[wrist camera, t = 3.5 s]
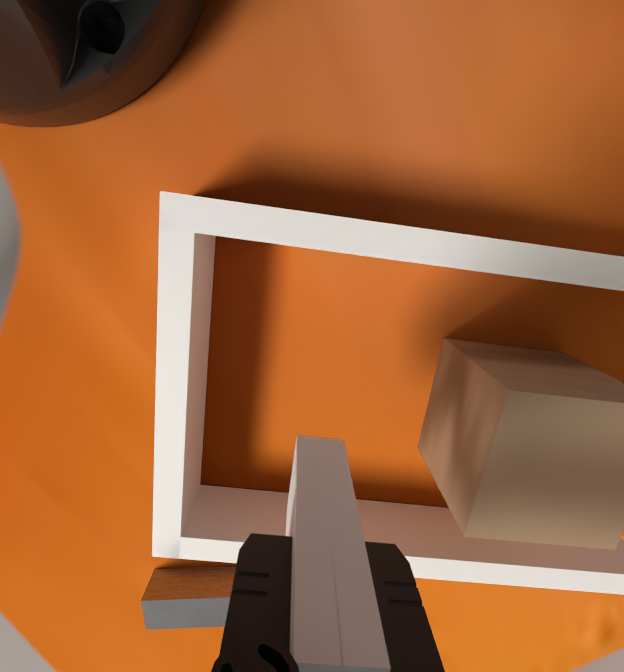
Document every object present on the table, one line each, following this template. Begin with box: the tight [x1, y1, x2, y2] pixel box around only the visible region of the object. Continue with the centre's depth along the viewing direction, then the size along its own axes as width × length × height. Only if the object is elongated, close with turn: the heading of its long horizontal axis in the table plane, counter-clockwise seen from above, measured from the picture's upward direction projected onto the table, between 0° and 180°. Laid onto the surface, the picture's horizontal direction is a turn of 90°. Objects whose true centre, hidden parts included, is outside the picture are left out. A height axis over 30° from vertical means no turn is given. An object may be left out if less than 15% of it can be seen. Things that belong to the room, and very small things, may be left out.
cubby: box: [152, 191, 624, 594], centre depth 17 cm, size 15×24×4 cm, turn 82°
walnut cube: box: [418, 338, 624, 550], centre depth 17 cm, size 6×6×6 cm
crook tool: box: [141, 566, 236, 629], centre depth 21 cm, size 5×12×2 cm, turn 91°
